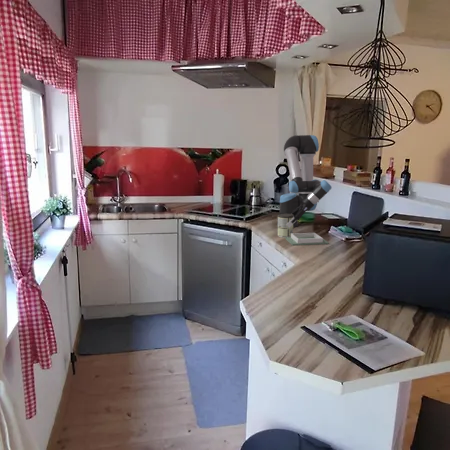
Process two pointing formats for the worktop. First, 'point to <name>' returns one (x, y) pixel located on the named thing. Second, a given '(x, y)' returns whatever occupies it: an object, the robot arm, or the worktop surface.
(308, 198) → the robot arm
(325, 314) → the worktop surface
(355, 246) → the worktop surface
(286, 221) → the coffee can
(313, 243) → the mount plate
